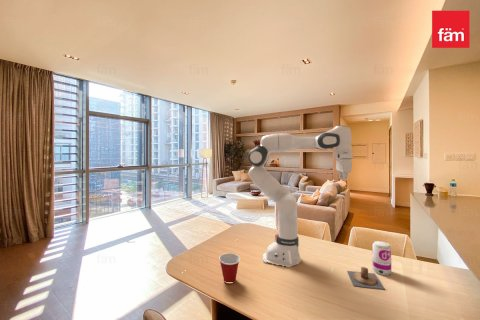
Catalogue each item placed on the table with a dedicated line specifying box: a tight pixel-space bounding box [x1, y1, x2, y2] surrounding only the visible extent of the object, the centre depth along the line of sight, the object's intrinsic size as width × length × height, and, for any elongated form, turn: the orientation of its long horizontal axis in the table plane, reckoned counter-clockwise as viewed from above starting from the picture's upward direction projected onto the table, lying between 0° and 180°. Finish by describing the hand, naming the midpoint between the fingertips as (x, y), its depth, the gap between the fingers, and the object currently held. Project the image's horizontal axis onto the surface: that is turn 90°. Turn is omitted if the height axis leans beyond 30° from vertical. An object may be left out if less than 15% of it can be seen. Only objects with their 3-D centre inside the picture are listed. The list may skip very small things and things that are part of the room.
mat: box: [346, 270, 386, 291], centre depth 106 cm, size 13×13×1 cm
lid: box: [353, 266, 377, 285], centre depth 106 cm, size 10×10×5 cm
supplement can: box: [371, 240, 392, 276], centre depth 113 cm, size 8×8×15 cm
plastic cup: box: [218, 252, 241, 283], centre depth 108 cm, size 11×11×12 cm
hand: (343, 179), depth 120 cm, fingers open, 8 cm apart
